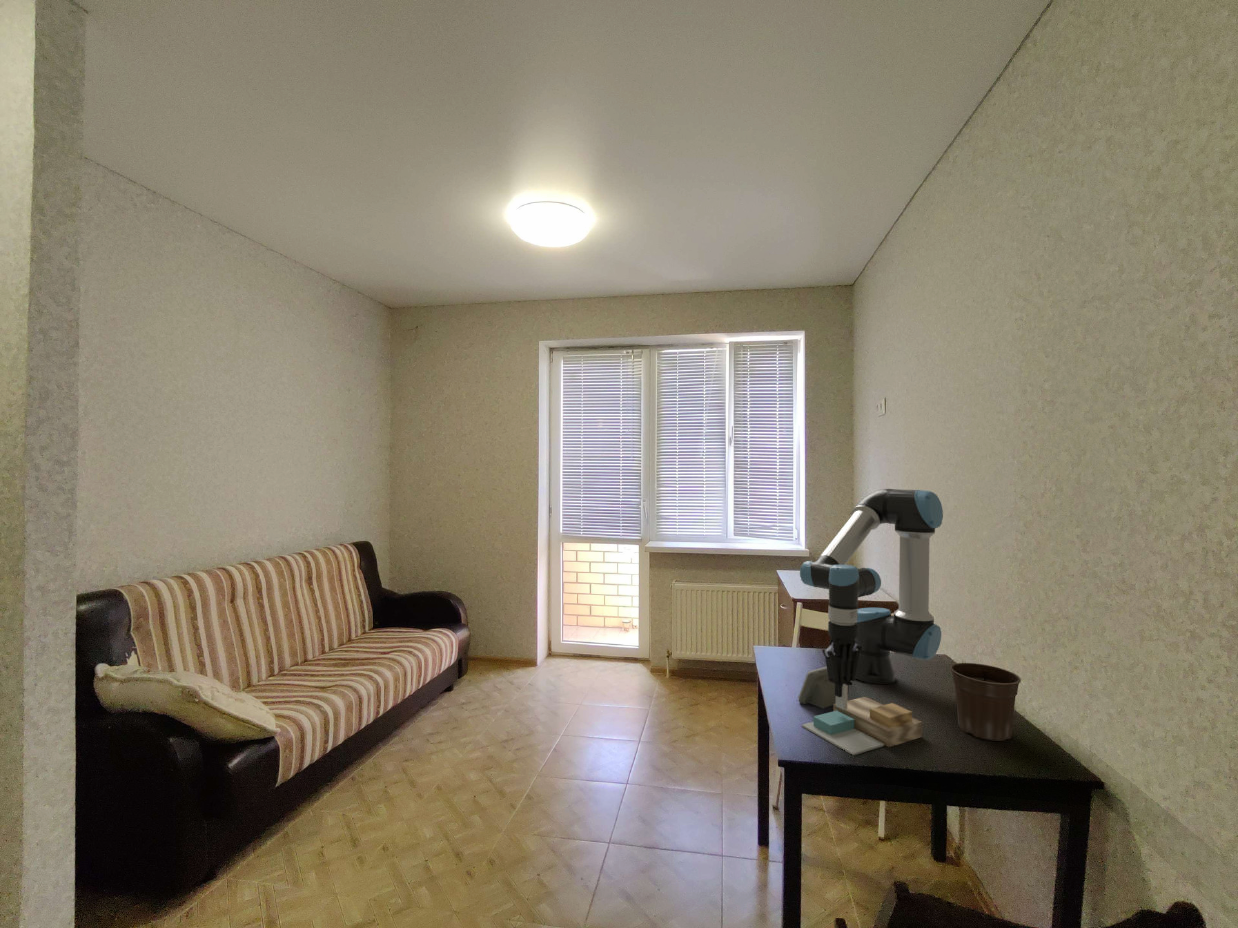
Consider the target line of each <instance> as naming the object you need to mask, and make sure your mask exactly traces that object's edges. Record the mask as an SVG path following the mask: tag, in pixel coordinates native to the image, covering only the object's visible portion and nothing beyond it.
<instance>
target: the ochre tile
mask: <svg viewBox="0 0 1238 928" xmlns="http://www.w3.org/2000/svg"><path fill="white" fill-rule="evenodd" d="M870 718H871V719H873V720H875V721H877V722H879V723H881V724H883V725H885V726H887V727H889V728H890V727H893V726H897V725H900V724H903V723H907V722H910V721H912V718H913V711H912V710H909V709H907V708H904V707H902V706H900V705H898V704H896V703H893V702H891V703H887V704H883V706H879V707H875V708H871V709H870Z"/></svg>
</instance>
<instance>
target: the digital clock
mask: <svg viewBox="0 0 1238 928" xmlns="http://www.w3.org/2000/svg"><path fill="white" fill-rule="evenodd" d="M797 700H798V702H799V703H800V704H801V705H803V704H804V705H806V704H811V705H813V706H816V707H818V708H820V709H826V708H829V707H831V706H832V707H833V704H836V695H835V684H834V683H832V682H830V681H829V677H828V671H827V665H826V666H824V667H820V668H816V669H813V670H810V671H808V672H807V673H806V674H805V679H804V680H803V683H802V687H801V690H800V692H799V694H798V699H797Z"/></svg>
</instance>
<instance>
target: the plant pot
mask: <svg viewBox="0 0 1238 928" xmlns="http://www.w3.org/2000/svg"><path fill="white" fill-rule="evenodd" d="M949 669H950V671H951V673H952V681H953V684H954V691H955V701H956V709H957V721H958V722H957V725H958V728H959V729H960V730H961V731H963V732H964V733H965V734H971V735H973V736H974V737H976V738H979V739H982V740H986V741H990V742H991V741H992V742H1004V741H1006V740H1010V739H1011V738H1012V734H1013V733H1012V732H1013V731H1012V730H1013V723H1014V712H1015V704H1016V703H1015V702H1016V696H1017V695H1018V690H1019V685H1020V683H1021V681H1022V678H1021V677H1020V676H1019V675H1017V674H1016V673H1014V672H1012V671H1010V670H1006V669H1004V668H1002V667H997V666H993V665H989V664H988V665H987V664H983V663H974V662H959V663H958V662H957V663H953V664H951V665H950V668H949Z"/></svg>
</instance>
